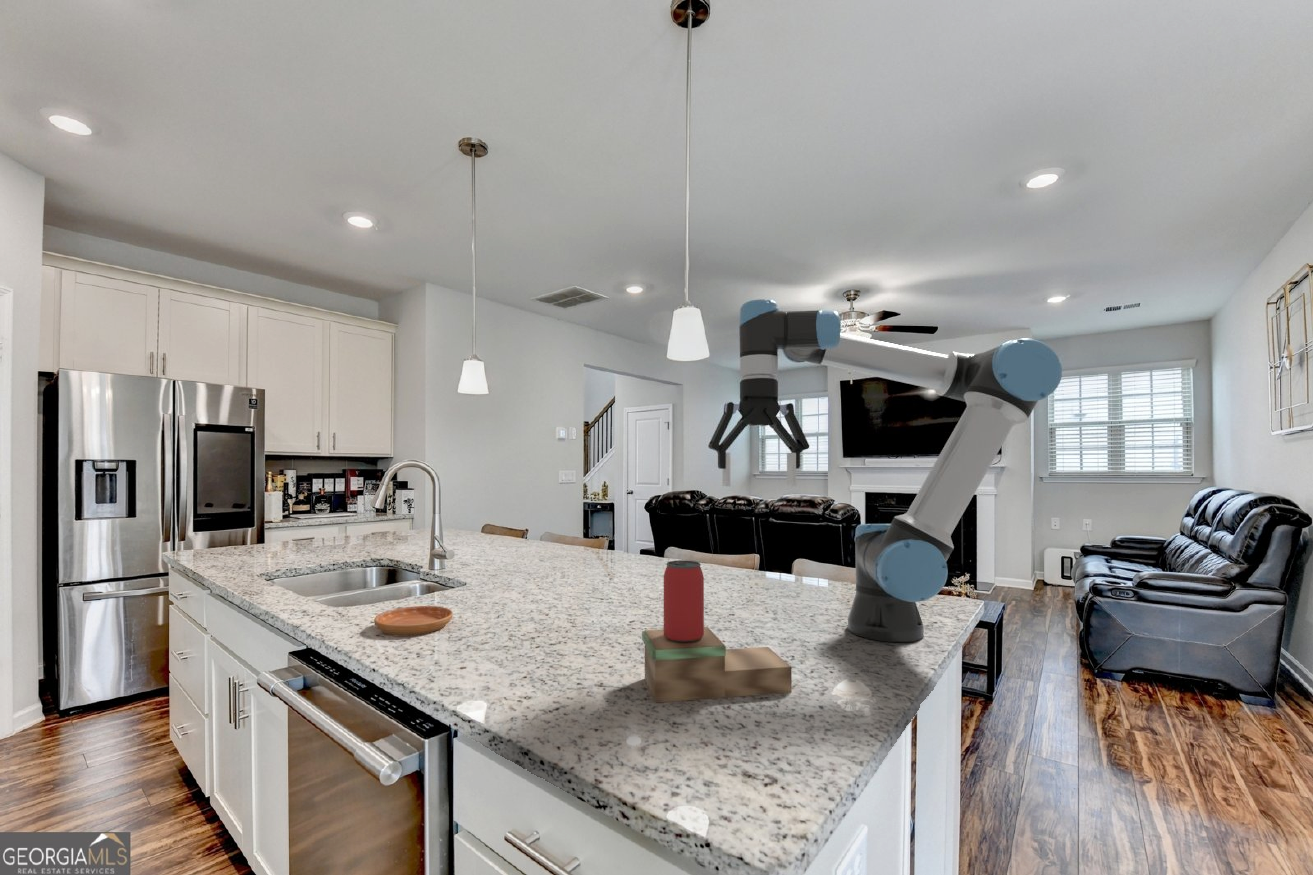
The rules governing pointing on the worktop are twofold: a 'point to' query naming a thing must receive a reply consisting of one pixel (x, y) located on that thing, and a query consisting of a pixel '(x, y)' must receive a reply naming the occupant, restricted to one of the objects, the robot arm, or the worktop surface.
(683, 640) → the beer can
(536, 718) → the worktop surface
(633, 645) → the worktop surface
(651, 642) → the step stand
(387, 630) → the saucer
